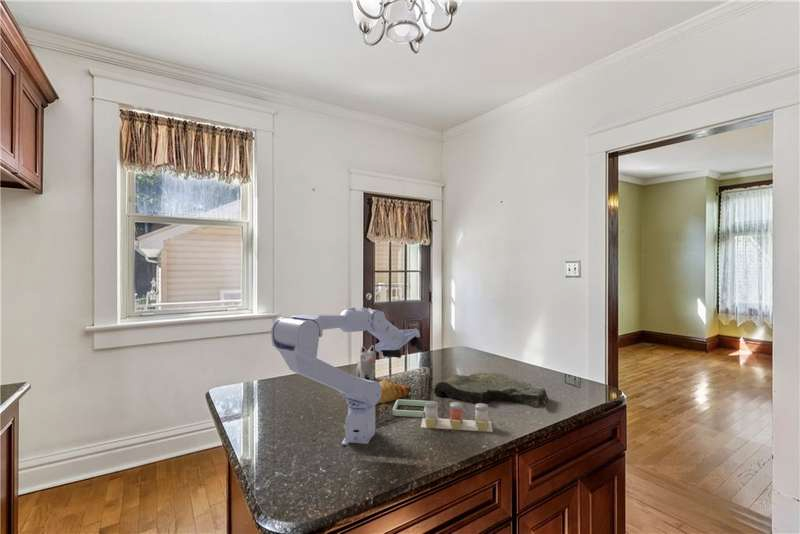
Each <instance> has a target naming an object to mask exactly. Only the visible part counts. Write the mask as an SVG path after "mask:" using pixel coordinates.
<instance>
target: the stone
mask: <svg viewBox="0 0 800 534" xmlns="http://www.w3.org/2000/svg"><path fill="white" fill-rule="evenodd" d="M433 392H434V394H435V395H438V396H442V397H444V398H445V397H446V398H449V399H455V400H459V401H463V402H465V403H468V404H469V403H470V404H474V405H475V404H478V403H483V404H490V403H492V402H497V403H499V402H506V403H515V404H520V405H524V406H528V407H532V408H534V409H535V408H539V407H541V406H542V407H543V408H546V407H547V405H548V399H549V397H548V394H547V391H546V388H543V387H542V386H541V387H540V386H538V385H535V384H531V383H527V382H525V381H521V380H518V379H516V378H513V377H511V376H509V375H507V374H503V373H496V372H484V373H482V372H476V373H473V374H470V375H462V374H460V375H459V374H454V375H451V376H449V377H447V378H445V379H443V380H440V381H437V382H436V385H435V387H434V389H433ZM443 392H444V394H443Z"/></svg>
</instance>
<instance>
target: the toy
mask: <svg viewBox="0 0 800 534" xmlns="http://www.w3.org/2000/svg"><path fill="white" fill-rule="evenodd" d="M375 352H376V350H375V344H374V345H371V346H370V347H369V348H368V350H367V349H366V347H365V346H364V345H362V346H361V348H360V356H359V358H358V359H357V360H356V364H357V366H356V371H355V372H356V377H358V378H362V379H366V377H367V378H369V379H368V380H371V381H375V364H376V362H377V361H376V353H375Z"/></svg>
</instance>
